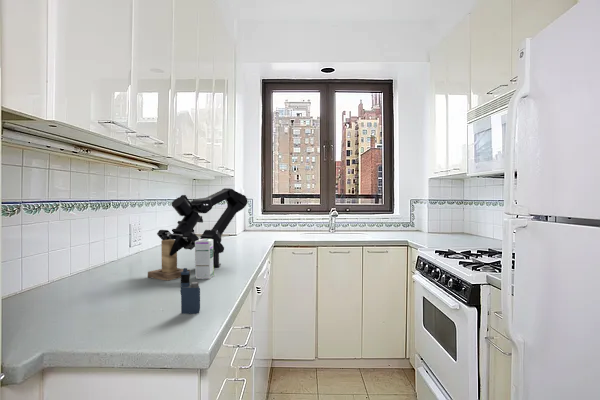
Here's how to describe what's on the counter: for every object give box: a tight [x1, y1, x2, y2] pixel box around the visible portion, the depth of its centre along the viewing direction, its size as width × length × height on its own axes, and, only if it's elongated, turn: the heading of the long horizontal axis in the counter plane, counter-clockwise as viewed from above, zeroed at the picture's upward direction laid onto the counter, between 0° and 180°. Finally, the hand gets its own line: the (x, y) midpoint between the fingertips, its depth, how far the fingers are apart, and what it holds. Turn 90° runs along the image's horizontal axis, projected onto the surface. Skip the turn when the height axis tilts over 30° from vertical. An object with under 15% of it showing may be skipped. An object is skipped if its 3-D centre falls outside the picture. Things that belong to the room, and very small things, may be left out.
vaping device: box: [179, 267, 201, 315], centre depth 108 cm, size 3×5×12 cm, turn 88°
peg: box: [160, 239, 178, 273], centre depth 154 cm, size 4×4×12 cm
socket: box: [147, 267, 191, 281], centre depth 154 cm, size 11×11×2 cm
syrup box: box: [194, 238, 215, 280], centre depth 152 cm, size 6×6×14 cm
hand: (166, 254), depth 152 cm, fingers closed on peg, 4 cm apart
